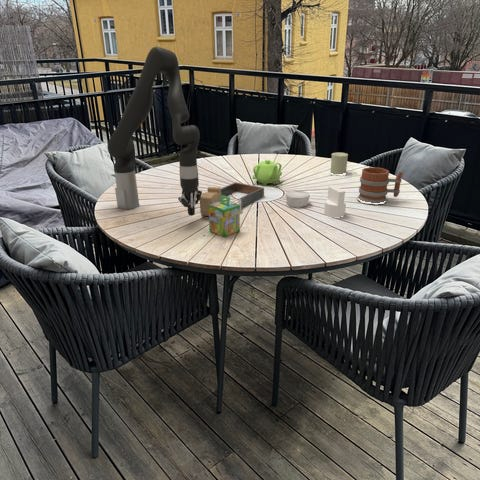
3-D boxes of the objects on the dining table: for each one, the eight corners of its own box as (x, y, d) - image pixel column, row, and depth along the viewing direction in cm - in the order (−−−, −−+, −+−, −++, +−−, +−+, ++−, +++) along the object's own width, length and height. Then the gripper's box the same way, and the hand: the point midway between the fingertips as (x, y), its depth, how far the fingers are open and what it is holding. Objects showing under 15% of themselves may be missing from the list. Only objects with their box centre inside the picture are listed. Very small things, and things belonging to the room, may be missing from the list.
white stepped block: (320, 212, 188) (322, 187, 183) (337, 209, 191) (339, 184, 186) (331, 219, 181) (333, 193, 175) (348, 216, 183) (351, 190, 178)
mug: (355, 195, 209) (358, 165, 202) (395, 196, 206) (399, 166, 200) (358, 205, 196) (362, 174, 190) (401, 206, 194) (406, 174, 188)
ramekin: (310, 201, 202) (311, 191, 200) (307, 209, 192) (308, 198, 190) (287, 199, 205) (287, 189, 203) (283, 207, 195) (283, 196, 193)
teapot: (287, 181, 232) (288, 159, 227) (276, 188, 221) (277, 165, 215) (261, 177, 239) (261, 155, 234) (249, 184, 228) (249, 161, 223)
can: (326, 173, 246) (328, 152, 240) (339, 171, 249) (341, 150, 244) (336, 177, 238) (338, 156, 233) (349, 174, 241) (351, 154, 236)
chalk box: (208, 231, 171) (207, 196, 165) (225, 224, 177) (224, 191, 171) (224, 237, 165) (223, 202, 159) (240, 231, 171) (240, 196, 165)
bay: (240, 213, 189) (240, 203, 187) (199, 203, 201) (198, 194, 199) (269, 197, 208) (270, 188, 206) (230, 189, 220) (230, 181, 218)
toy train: (222, 206, 198) (221, 185, 193) (212, 219, 183) (211, 197, 178) (211, 205, 199) (210, 184, 195) (199, 218, 184) (198, 196, 180)
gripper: (184, 181, 165) (187, 221, 172) (206, 173, 175) (208, 212, 182) (171, 178, 169) (174, 218, 176) (192, 170, 179) (195, 208, 186)
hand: (191, 214), depth 179 cm, fingers closed
